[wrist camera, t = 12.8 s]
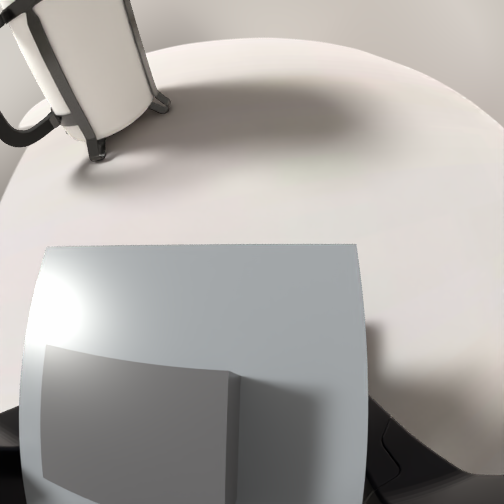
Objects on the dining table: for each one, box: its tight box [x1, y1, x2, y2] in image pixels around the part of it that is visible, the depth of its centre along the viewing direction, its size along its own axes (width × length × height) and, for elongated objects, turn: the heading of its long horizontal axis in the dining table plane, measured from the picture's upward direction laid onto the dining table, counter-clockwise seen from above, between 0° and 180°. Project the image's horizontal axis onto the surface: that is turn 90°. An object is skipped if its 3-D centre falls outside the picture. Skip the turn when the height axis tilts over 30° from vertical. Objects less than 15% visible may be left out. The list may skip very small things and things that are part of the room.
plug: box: [19, 244, 368, 504], centre depth 8 cm, size 5×5×13 cm
